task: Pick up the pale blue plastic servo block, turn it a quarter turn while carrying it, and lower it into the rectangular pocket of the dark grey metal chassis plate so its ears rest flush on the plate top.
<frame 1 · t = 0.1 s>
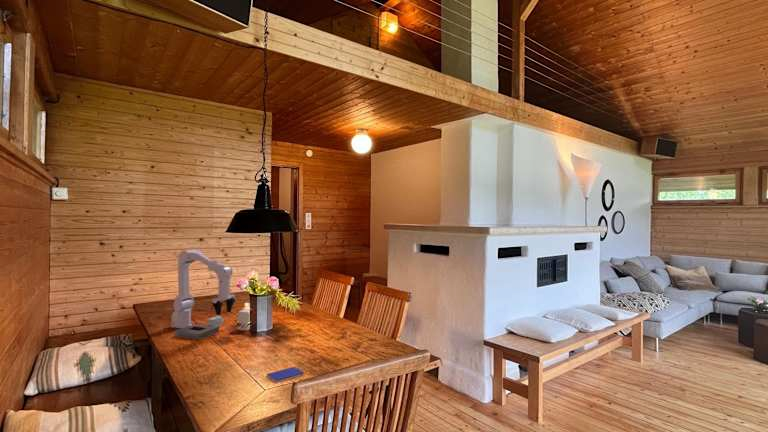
hand: (223, 313, 216), 10 cm above the table, tool pointing down, fingers open, 7 cm apart
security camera: (244, 328, 223), on the table
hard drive: (285, 377, 159), on the table
chassis: (197, 334, 210), on the table
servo: (215, 326, 226), on the table
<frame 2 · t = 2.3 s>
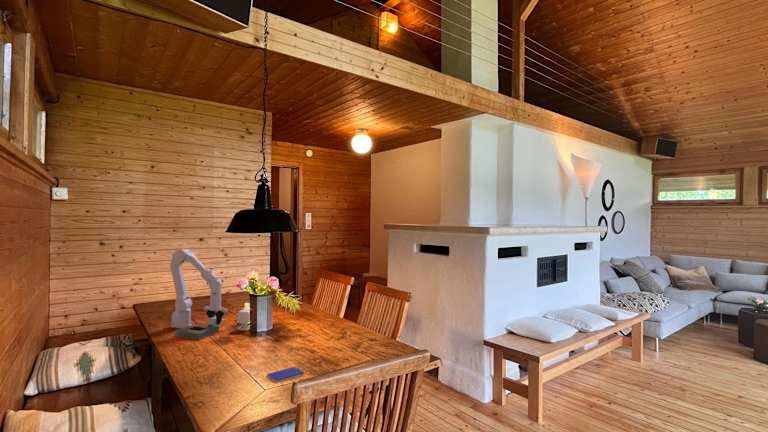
hand: (215, 323, 226), 1 cm above the table, tool pointing down, fingers closed on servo, 4 cm apart
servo: (215, 326, 226), on the table, touching gripper
everything else where it was.
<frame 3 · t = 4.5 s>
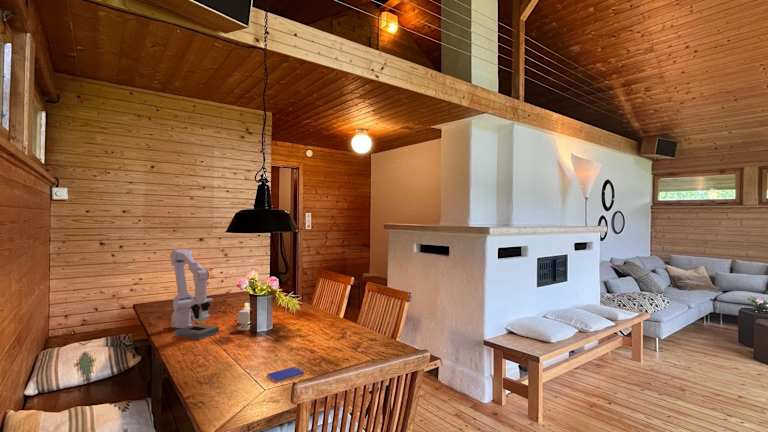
hand: (200, 317, 212), 8 cm above the table, tool pointing down, fingers closed on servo, 4 cm apart
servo: (200, 320, 212), point 7 cm above the table, touching gripper
everything else where it was.
when the fingers open (3 cm above the table, at t = 6.7 s): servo drops 1 cm, resting on chassis.
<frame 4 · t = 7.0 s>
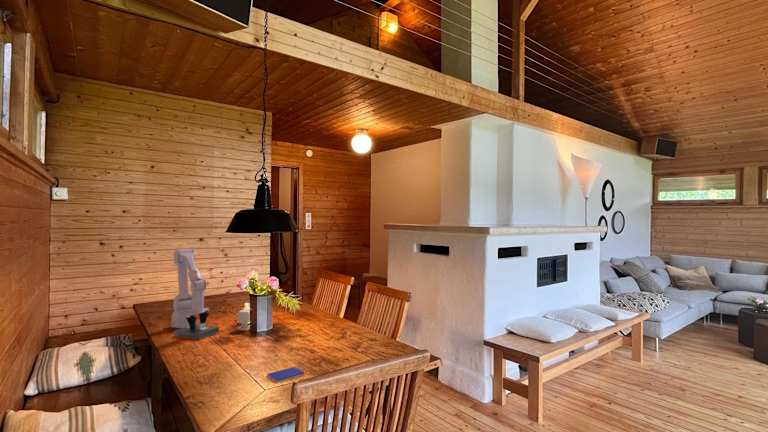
hand: (197, 327, 210), 3 cm above the table, tool pointing down, fingers open, 6 cm apart
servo: (197, 333, 210), point 1 cm above the table, touching chassis
everything else where it was.
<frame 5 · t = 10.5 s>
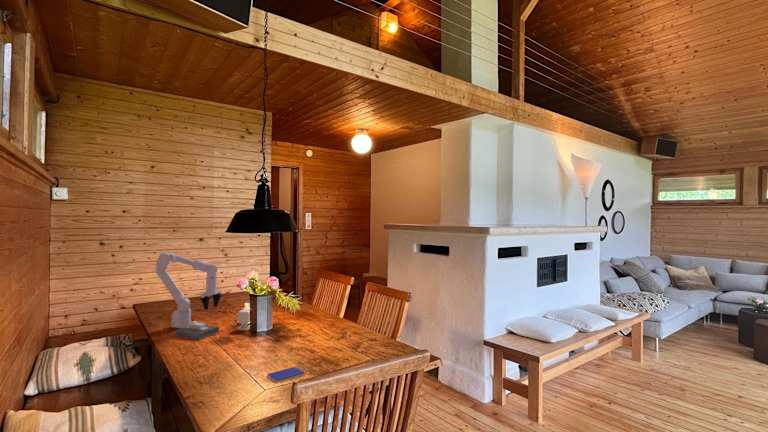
hand: (210, 307, 230), 9 cm above the table, tool pointing down, fingers open, 7 cm apart
nothing on the table moved.
at the end: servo 0.0 cm off-centre on the chassis, point 0.6 cm above the chassis's base; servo tilted 0°; the gripper is holding nothing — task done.
